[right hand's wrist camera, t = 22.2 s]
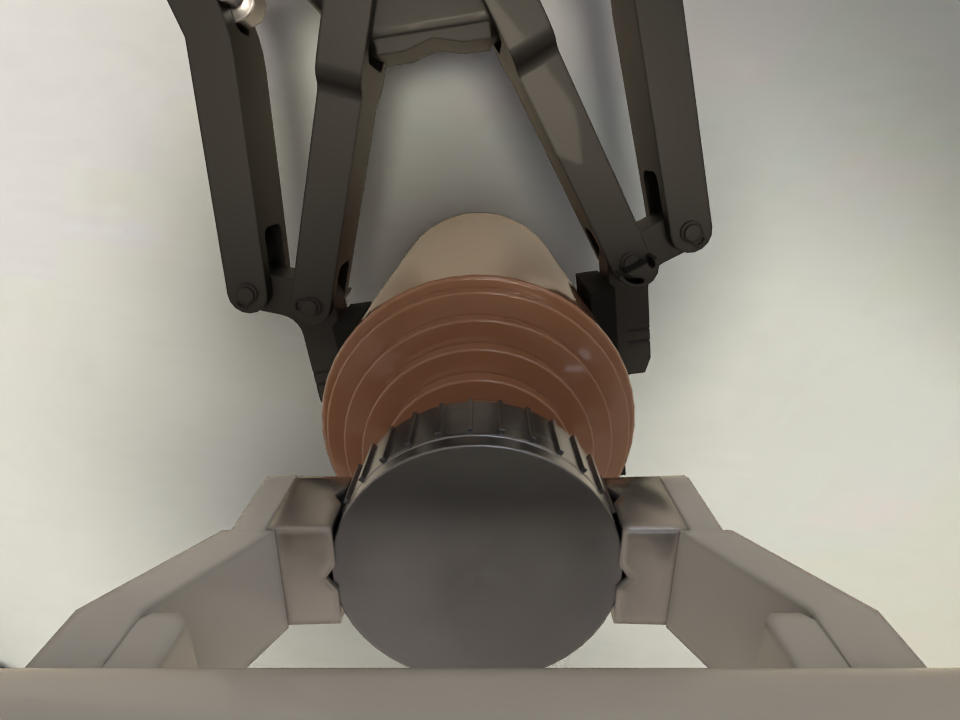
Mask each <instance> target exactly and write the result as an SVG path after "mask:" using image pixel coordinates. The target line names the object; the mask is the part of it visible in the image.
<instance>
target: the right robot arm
mask: <svg viewBox="0 0 960 720" xmlns="http://www.w3.org/2000/svg"><path fill="white" fill-rule="evenodd" d="M352 478H353V477H326V476H299V477H298V476H270V477H267V478H266V479H265V480H264V482H263V483H262V485H261V486H260V488H259V489H258V491H257V492H256V494H255V495H254V497H253V498H252V500H251V501H250V503H249V504H248V506H247V507H246V509H245V510H244V512H243V513H242V515H241V516H240V518H239V519H238V521H237V522H236V524H235V525H234V527H233V528H232V530H222V531H220V532H219V533H217V534H215V535H213V536H211V537H209V538H208V539H206V540H204V541H202V542H200V543H198V544H197V545H195V546H193V547H191V548H189V549H187V550H186V551H184V552H182V553H180V554H178V555H176V556H175V557H173V558H171V559H169V560H167V561H165V562H164V563H162V564H160V565H158V566H156V567H154V568H153V569H151V570H149V571H147V572H145V573H143V574H142V575H140V576H138V577H136V578H134V579H132V580H131V581H129V582H127V583H125V584H123V585H121V586H120V587H118V588H116V589H114V590H112V591H110V592H109V593H107V594H105V595H103V596H101V597H99V598H98V599H96V600H94V601H92V602H90V603H88V604H87V605H85V606H83V607H81V608H79V609H77V610H76V611H75V612H74V613H73V614H72V615H71V616H70V617H69V619H68V620H67V621H66V622H65V623H64V624H63V625H62V627H61V628H60V629H59V630H58V631H57V632H56V633H55V634H54V636H53V637H52V638H51V639H50V640H49V641H48V642H47V643H46V645H45V646H44V647H43V648H42V649H41V650H40V651H39V652H38V654H37V655H36V656H35V657H34V658H33V659H32V660H31V661H30V663H29V664H28V665H27V666H26V667H25V668H0V720H960V668H927V667H926V666H925V665H924V663H923V662H922V661H921V660H920V659H919V658H918V656H917V655H916V654H915V653H914V652H913V651H912V650H911V648H910V647H909V646H908V645H907V644H906V643H905V641H904V640H903V639H902V638H901V637H900V636H899V634H898V633H897V632H896V631H895V630H894V629H893V628H892V626H891V625H890V624H889V623H888V622H887V621H886V619H885V618H884V617H883V616H882V615H881V614H880V613H879V611H877V610H875V609H873V608H872V607H870V606H868V605H866V604H864V603H863V602H861V601H859V600H857V599H855V598H854V597H852V596H850V595H848V594H846V593H844V592H843V591H841V590H839V589H837V588H835V587H834V586H832V585H830V584H828V583H826V582H825V581H823V580H821V579H819V578H817V577H815V576H814V575H812V574H810V573H808V572H806V571H805V570H803V569H801V568H799V567H797V566H796V565H794V564H792V563H790V562H788V561H787V560H785V559H783V558H781V557H779V556H777V555H776V554H774V553H772V552H770V551H768V550H767V549H765V548H763V547H761V546H759V545H758V544H756V543H754V542H752V541H750V540H749V539H747V538H745V537H743V536H741V535H739V534H738V533H736V532H734V531H732V530H723V529H722V528H721V526H720V525H719V523H718V522H717V520H716V519H715V517H714V516H713V514H712V513H711V511H710V510H709V508H708V507H707V505H706V503H705V502H704V500H703V499H702V497H701V496H700V494H699V493H698V491H697V490H696V488H695V487H694V485H693V484H692V482H691V481H690V479H689V478H688V477H686V476H684V475H680V476H655V477H615V478H603V480H604V482H605V485H606V488H607V490H608V493H609V496H610V498H611V501H612V504H613V506H614V509H615V512H616V516H615V517H613V518H614V521H615V524H616V526H617V529H618V532H619V536H620V540H621V548H620V557H619V565H620V567H621V568H622V570H623V573H622V581H621V583H620V584H619V585H618V586H617V587H616V596H615V603H614V605H613V607H612V610H611V615H612V618H613V622H614V623H623V624H659V625H666V627H667V628H668V629H669V630H670V631H671V632H672V633H673V634H674V635H675V636H676V637H677V638H678V639H679V640H680V641H681V642H682V643H683V644H684V645H685V646H686V647H687V648H688V649H689V650H690V651H691V652H692V653H693V654H694V655H695V656H696V657H697V658H698V659H699V660H700V661H702V662H703V663H704V664H705V665H706V666H707V667H708V668H247V667H248V666H249V665H250V664H251V663H252V662H253V661H254V660H255V659H256V658H257V657H258V656H259V655H260V654H262V653H263V652H264V651H265V650H266V649H267V648H268V647H269V646H270V645H271V644H272V643H273V642H274V641H275V640H276V639H277V638H278V637H279V636H280V635H281V634H282V633H283V632H284V631H285V630H286V629H288V625H295V624H330V623H341V621H342V618H343V615H344V610H343V608H342V605H341V603H340V598H339V588H338V587H337V586H336V585H335V583H334V582H333V576H332V569H333V568H334V566H335V564H336V561H335V553H334V538H335V534H336V531H337V528H338V526H339V523H340V520H341V518H342V506H343V502H344V499H345V496H346V494H347V491H348V489H349V486H350V483H351V481H352Z"/></svg>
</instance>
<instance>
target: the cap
mask: <svg viewBox="0 0 960 720" xmlns="http://www.w3.org/2000/svg"><path fill="white" fill-rule="evenodd" d="M615 516H616V512H615V509H614V506H613V504H612V501H611V498H610V496H609V493H608V490H607V488H606V485H605V482H604V480H603V477H602V476H600V475H599V473H598V470H597V467H596V465H595V462H594V459H593V457H592V455H591V454H589V455H587V454H586V452H585V451H584V450H583V449H582V448H581V446H580V445H579V443H578V440H577V437H576V436H575V435H574V434H573V435H572V436H570V435H569V434H568V433H567V432H566V431H565V430H563V429H562V428H560V427H559V426H557V424H556V420H554V419H552V418H551V420H548V419H546V418H544V417H542V416H540V415H539V414H537V413H534V412H531V408H529V407H525V409H523V408H520V407H517V406H512V405H508V404H504V403H503V401H502V400H497V402H488V401H473V399H468V401H466V402H459V403H451V404H447V405H445V403H444V402H443V403H439V407H435V408H432V409H429V410H426V411H424V412H421V413H419V414H418V412H417V411H416V412H414V413H412V417H411V418H409V419H407V420H405V421H403V422H402V423H400V424H399V425H398V426H396V427H394V426H393V425H392V426H391V427H389V430H388V433H387V434H386V435H385V436H384V437H383V438H382V439H381V440H380V441H379V442H378V443H377V444H374V443H372V445H371V446H370V448H369V451H368V454H367V457H366V459H365V461H364V462H363V464H362V465H361V464H358V466H357V468H356V471H355V473H354V476H353V478H352V481H351V483H350V486H349V489H348V491H347V494H346V496H345V499H344V502H343V506H342V518H341V520H340V523H339V526H338V528H337V531H336V534H335V538H334V553H335V561H336V564H335V566H334V568H333V569H332V576H333V582H334V583H335V585H336V586H337V587H338V588H339V598H340V603H341V605H342V608H343V610H344V612H345V613H346V615H347V616H348V618H349V620H350V621H351V623H352V624H353V625H354V627H355V628H356V629H357V630H358V631H359V632H360V634H361V635H362V636H363V637H364V638H365V639H366V640H367V641H369V642H370V643H371V644H372V645H373V646H374V647H375V648H377V649H378V650H380V651H381V652H382V653H384V654H385V655H387V656H388V657H390V658H392V659H393V660H395V661H397V662H399V663H401V664H403V665H405V666H407V667H410V668H545V667H548V666H550V665H552V664H554V663H556V662H558V661H560V660H561V659H563V658H565V657H567V656H568V655H570V654H571V653H573V652H574V651H575V650H577V649H578V648H579V647H581V646H582V645H583V644H584V643H585V642H586V641H587V640H588V639H589V638H591V637H592V636H593V635H594V633H595V632H596V631H597V630H598V629H599V627H600V626H601V625H602V624H603V622H604V621H605V619H606V618H607V616H608V614H609V613H610V611H611V610H612V607H613V605H614V603H615V596H616V587H617V586H618V585H619V584H620V583H621V581H622V573H623V570H622V568H621V567H620V565H619V557H620V548H621V540H620V536H619V532H618V529H617V526H616V524H615V521H614V518H613V517H615Z"/></svg>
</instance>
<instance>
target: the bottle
mask: <svg viewBox="0 0 960 720" xmlns="http://www.w3.org/2000/svg"><path fill="white" fill-rule="evenodd" d="M468 399H473V401H488V402H497V400H502V401H503V403H504V404H508V405H512V406H517V407H520V408H523V409H525V407H529V408H531V412H534V413H537V414H539V415H540V416H542V417H544V418H546V419H548V420H551V418H552V419H554V420H556V424H557V426H559V427H560V428H562V429H563V430H565V431H566V432H567V433H568V434H569V435H570V436H572V435H573V434H574V435H575V436H576V437H577V440H578V443H579V445H580V446H581V448H582V449H583V450H584V451H585V452H586V454H587V455H589V454H591V455H592V457H593V459H594V462H595V465H596V467H597V470H598V473H599V475H600V476H602V477H603V478H615V477H620V475H621V472H622V470H623V468H624V466H625V464H626V461H627V458H628V455H629V451H630V448H631V445H632V439H633V433H634V426H635V405H634V398H633V392H632V386H631V383H630V380H629V376H628V373H627V370H626V368H625V365H624V363H623V361H622V359H621V357H620V355H619V353H618V351H617V349H616V348H615V346H614V345H613V343H612V342H611V340H610V339H609V337H608V336H607V334H606V333H605V331H604V330H603V328H602V327H601V326H600V324H599V323H598V321H597V320H596V318H595V317H594V315H593V314H592V312H591V311H590V310H589V308H588V307H587V305H586V304H585V302H584V301H583V299H582V298H581V296H580V295H579V294H578V292H577V291H576V289H575V288H574V286H573V285H572V283H571V282H570V280H569V279H568V278H567V276H566V275H565V273H564V272H563V270H562V269H561V267H560V266H559V264H558V263H557V262H556V260H555V259H554V257H553V256H552V254H551V253H550V251H549V250H548V248H547V247H546V246H545V244H544V243H543V242H542V241H541V240H540V239H539V237H538V236H536V235H535V234H534V233H533V232H532V231H531V230H530V229H528V228H527V227H525V226H524V225H522V224H520V223H518V222H516V221H514V220H512V219H510V218H507V217H504V216H501V215H496V214H491V213H468V214H462V215H458V216H454V217H451V218H449V219H446V220H444V221H442V222H440V223H438V224H436V225H435V226H433V227H432V228H430V229H429V230H428V231H426V232H425V233H424V234H423V235H422V236H421V237H420V238H419V239H418V240H417V241H416V242H415V244H414V245H413V246H412V247H411V249H410V250H409V252H408V253H407V254H406V256H405V257H404V259H403V260H402V261H401V263H400V264H399V266H398V267H397V269H396V270H395V271H394V273H393V274H392V276H391V277H390V278H389V280H388V281H387V283H386V284H385V285H384V287H383V288H382V290H381V291H380V292H379V294H378V295H377V297H376V298H375V300H374V301H373V302H372V304H371V305H370V307H369V308H368V309H367V311H366V312H365V314H364V315H363V316H362V318H361V319H360V321H359V322H358V324H357V325H356V326H355V328H354V329H353V331H352V332H351V333H350V335H349V336H348V338H347V339H346V340H345V342H344V344H343V345H342V347H341V349H340V350H339V352H338V354H337V356H336V357H335V359H334V362H333V364H332V367H331V369H330V372H329V374H328V377H327V381H326V385H325V390H324V394H323V403H322V428H323V436H324V440H325V445H326V450H327V453H328V456H329V458H330V461H331V464H332V467H333V469H334V471H335V473H336V475H337V477H353V476H354V473H355V471H356V468H357V466H358V464H361V465H362V464H363V462H364V461H365V459H366V457H367V454H368V451H369V448H370V446H371V445H372V443H374V444H377V443H378V442H379V441H380V440H381V439H382V438H383V437H384V436H385V435H386V434H387V433H388V430H389V427H391V426H392V425H393V426H394V427H396V426H398V425H399V424H400V423H402V422H403V421H405V420H407V419H409V418H411V417H412V413H414V412H416V411H417V412H418V414H419V413H421V412H424V411H426V410H429V409H432V408H435V407H439V403H443V402H444V403H445V405H447V404H451V403H459V402H466V401H468Z"/></svg>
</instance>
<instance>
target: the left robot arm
mask: <svg viewBox="0 0 960 720" xmlns="http://www.w3.org/2000/svg"><path fill="white" fill-rule="evenodd" d="M167 1H168V3H169V5H170V7H171V9H172V12H173V14H174V16H175V18H176V20H177V22H178V24H179V26H180V28H181V30H182V32H183V34H184V36H185V40H186V46H187V52H188V58H189V64H190V70H191V76H192V82H193V88H194V94H195V100H196V106H197V113H198V119H199V125H200V131H201V137H202V143H203V149H204V155H205V161H206V167H207V173H208V179H209V185H210V191H211V197H212V203H213V210H214V216H215V222H216V228H217V234H218V240H219V246H220V252H221V258H222V264H223V270H224V276H225V282H226V288H227V294H228V297H229V300H230V302H231V303H232V304H233V306H234V307H235V308H237V309H238V310H240V311H242V312H246V313H254V312H258V311H259V310H261V311H266V312H271V313H276V314H281V315H284V316H288V317H289V318H291V319H293V320H294V321H295V322H296V323H297V324H298V325H299V327H300V328H301V330H302V332H303V335H304V339H305V342H306V346H307V350H308V354H309V358H310V362H311V366H312V369H313V372H314V377H315V381H316V383H317V389H318V393H319V397H320V400H321V402H322V403H323V394H324V390H325V385H326V381H327V377H328V374H329V372H330V369H331V367H332V364H333V362H334V359H335V357H336V356H337V354H338V352H339V350H340V349H341V347H342V345H343V344H344V342H345V340H346V339H347V338H348V336H349V335H350V333H351V332H352V331H353V329H354V328H355V326H356V325H357V324H358V322H359V321H360V319H361V318H362V316H363V315H364V314H365V312H366V311H367V309H368V308H369V307H370V305H371V304H372V301H371V302H364V303H357V304H350V306H349V307H348V308H347V304H346V300H345V298H346V297H347V296H348V295H349V293H350V291H351V288H350V287H348V284H349V277H350V271H351V265H352V259H353V252H354V246H355V240H356V233H357V227H358V221H359V215H360V208H361V202H362V196H363V190H364V183H365V177H366V171H367V164H368V158H369V152H370V146H371V139H372V133H373V127H374V121H375V114H376V108H377V104H378V101H379V99H380V96H381V93H382V88H383V82H384V76H385V70H386V65H387V66H393V65H399V64H405V63H412V62H415V61H417V60H419V59H421V58H423V57H425V56H427V55H429V54H431V53H433V52H436V51H446V52H453V53H460V54H469V53H476V52H482V51H489V50H490V47H491V46H493V48H494V50H495V52H496V54H497V56H498V58H499V60H500V62H501V65H502V67H503V69H504V71H505V72H506V74H507V76H508V78H509V79H510V81H511V82H512V84H513V86H514V88H515V90H516V92H517V94H518V96H519V98H520V100H521V102H522V104H523V106H524V108H525V110H526V112H527V114H528V116H529V119H530V121H531V123H532V125H533V127H534V129H535V131H536V133H537V135H538V137H539V139H540V141H541V143H542V145H543V147H544V149H545V151H546V154H547V156H548V158H549V160H550V162H551V164H552V166H553V168H554V170H555V172H556V174H557V176H558V178H559V180H560V182H561V184H562V186H563V189H564V191H565V193H566V195H567V197H568V199H569V201H570V203H571V205H572V207H573V209H574V211H575V213H576V215H577V217H578V219H579V221H580V224H581V226H582V228H583V230H584V232H585V234H586V236H587V238H588V240H589V242H590V244H591V246H592V248H593V250H594V252H595V254H596V256H597V258H598V260H599V269H600V273H599V272H598V271H591V272H584V273H576V283H577V292H578V294H579V295H580V296H581V298H582V299H583V301H584V302H585V304H586V305H587V307H588V308H589V310H590V311H591V312H592V314H593V315H594V317H595V318H596V320H597V321H598V323H599V324H600V326H601V327H602V328H603V330H604V331H605V333H606V334H607V336H608V337H609V339H610V340H611V342H612V343H613V345H614V346H615V348H616V349H617V351H618V353H619V355H620V357H621V359H622V361H623V363H624V365H625V368H626V370H627V373H628V374H635V373H643V372H645V371H646V368H647V365H648V363H649V360H650V341H649V339H650V331H649V303H648V284H649V283H651V282H652V281H653V280H654V278H655V277H656V275H657V274H658V269H659V265H660V264H662V263H664V262H665V261H667V260H669V259H671V258H673V257H675V256H677V255H679V254H681V253H683V252H686V253H690V252H696V251H698V250H700V249H702V248H703V247H704V246H705V245H706V244H707V243H708V241H709V239H710V237H711V235H712V222H711V214H710V207H709V199H708V191H707V184H706V176H705V168H704V161H703V153H702V145H701V138H700V130H699V122H698V115H697V107H696V99H695V92H694V84H693V76H692V69H691V61H690V53H689V46H688V38H687V30H686V23H685V15H684V7H683V0H611V6H612V15H613V21H614V27H615V33H616V39H617V45H618V51H619V57H620V63H621V69H622V75H623V81H624V87H625V92H626V98H627V104H628V110H629V116H630V122H631V128H632V134H633V140H634V146H635V152H636V158H637V164H638V169H639V175H640V181H641V187H642V193H643V199H644V205H645V211H646V217H645V218H643V219H641V220H639V221H637V222H636V221H635V219H634V216H633V214H632V212H631V210H630V208H629V205H628V203H627V201H626V199H625V196H624V194H623V192H622V190H621V188H620V185H619V183H618V181H617V179H616V177H615V174H614V172H613V170H612V168H611V165H610V163H609V161H608V159H607V157H606V154H605V152H604V150H603V148H602V146H601V143H600V141H599V139H598V137H597V135H596V132H595V130H594V128H593V126H592V123H591V121H590V119H589V117H588V115H587V112H586V110H585V108H584V106H583V104H582V101H581V99H580V97H579V95H578V92H577V90H576V88H575V86H574V84H573V81H572V79H571V77H570V75H569V73H568V70H567V68H566V66H565V64H564V61H563V59H562V57H561V55H560V52H559V50H558V47H557V43H556V38H555V35H554V31H553V29H552V26H551V24H550V21H549V19H548V17H547V15H546V12H545V10H544V8H543V6H542V4H541V1H540V0H308V1H309V2H310V3H311V4H312V5H313V6H314V7H315V9H316V10H317V11H318V12H319V13H320V14H321V20H320V28H319V36H318V44H317V52H316V62H315V75H316V79H317V97H316V105H315V113H314V121H313V129H312V137H311V145H310V153H309V161H308V169H307V177H306V185H305V193H304V201H303V209H302V217H301V225H300V233H299V241H298V249H297V257H296V265H295V268H291V267H290V260H289V252H288V244H287V235H286V227H285V219H284V211H283V203H282V195H281V187H280V179H279V171H278V162H277V154H276V146H275V138H274V130H273V122H272V114H271V106H270V98H269V89H268V81H267V73H266V67H265V61H264V55H263V51H262V47H261V44H260V40H259V37H258V34H257V31H256V29H255V26H256V25H258V24H259V23H260V22H261V21H262V20H263V18H264V16H265V13H266V0H167ZM621 475H626V471H625V466H624V468H623V470H622V472H621Z"/></svg>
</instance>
